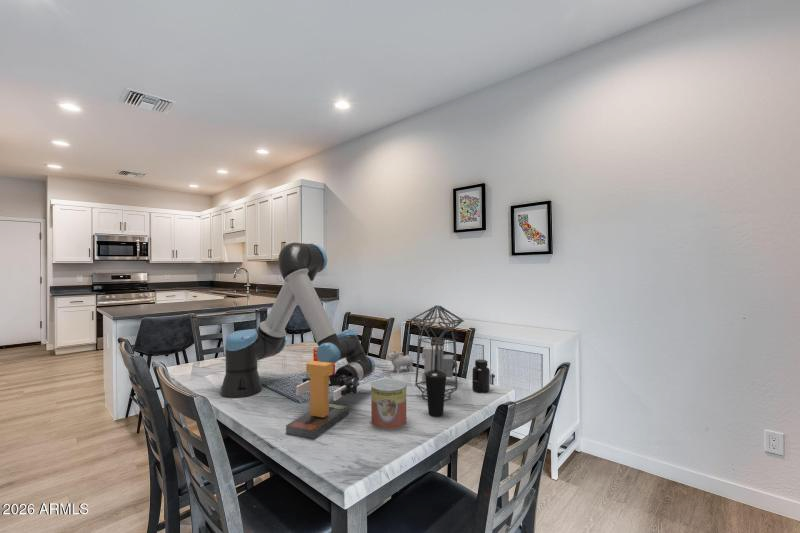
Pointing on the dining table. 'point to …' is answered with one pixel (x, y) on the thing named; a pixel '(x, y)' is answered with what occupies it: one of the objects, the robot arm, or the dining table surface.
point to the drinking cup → (435, 390)
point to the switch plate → (316, 422)
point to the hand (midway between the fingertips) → (315, 393)
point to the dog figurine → (400, 360)
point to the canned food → (388, 404)
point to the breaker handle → (319, 387)
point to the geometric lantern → (436, 341)
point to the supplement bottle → (481, 377)
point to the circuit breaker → (447, 361)
